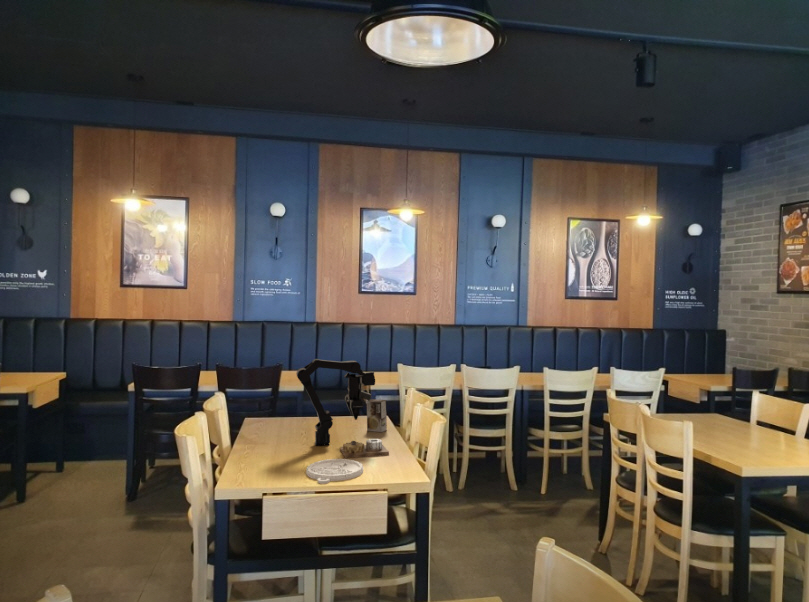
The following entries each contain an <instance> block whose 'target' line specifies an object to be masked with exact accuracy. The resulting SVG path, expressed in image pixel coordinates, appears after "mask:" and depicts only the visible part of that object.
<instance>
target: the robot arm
mask: <svg viewBox="0 0 809 602" xmlns="http://www.w3.org/2000/svg"><path fill="white" fill-rule="evenodd" d="M319 368H321V369H330V370H341V371H344V372H346V373H345V375H343V376H344V379H345V378H346V379H347V380H348V381H347V385H348V386H347V390H348V393H347V394H346V395H345V396H344V401H345V403H346V406H347V408H348V411H349V414H350V416H351V417H353V419H354V420H355V421H356V420H358V418H359V413H360V410H361V409H362V408H363V407H364V405H365V402H364V400H366V401H370V400H371V399H372V398H371V397H372V394H371V393H369V392H368V390H367V389H363V390H362V389H361V385H362V386H363V387H365V386H367V387H368V386H371V387H372V386H375V385H376V377H375V371H367V372H366V371H365V372H364V371H363V370H362V369H361V364H360V362H359V361H358V362H357V361H356V360H346V361H337V360H328V359H327V360H325V359H319V358H314V359H313V360H312V361H311V362H310V363H308V364H306V365H305V366H304V367H301V368H298V369H297V371H296V377H297V379H298V380H299V382H300V383H301V384H302V386H303V388H304V389H305V391H306V392H307V394H308V397H309V398H310V401H311V404H312V405H313V407H314V409H315V411H316V415H317V418H318V422H317V423H316V424H315V425H314V427H315V431H314V438H315V440H314V444H315V446H316V447H320V446H330V444H331V434H330V431H329V430H330V429H331V428H332V427H333V425H334V423H333V421H334V418H333V417H332V416H331V413H330V411H329V410H325V409H324V407H323V405H322V402H321V401H320V399H319V397H318V394H317V392H316V390H315V388H314V386H313V384H312V382H313V381H312V379H311V375H312V374H313V373H315V371H316V370H317V369H319ZM362 399H363V400H362Z"/></svg>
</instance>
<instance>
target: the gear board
mask: <svg viewBox="0 0 809 602" xmlns="http://www.w3.org/2000/svg"><path fill="white" fill-rule="evenodd" d="M372 442H376V441H372ZM340 452H341V453H343V454H342V456H344V459H354V458H366V457H378V456H379V455H381V456H390V451H389V449H387V448H386V447H385V446H384V444H382V449H381V450H375V451H373V450H367V449H366V444H365V443H363V442H358V441H356V440H351V441H350V442H346V443H343V445H342V446H340ZM379 457H380V456H379Z"/></svg>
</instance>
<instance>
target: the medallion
mask: <svg viewBox="0 0 809 602" xmlns="http://www.w3.org/2000/svg"><path fill="white" fill-rule="evenodd" d="M305 472H306V474H305V475H306V476H308V477H309V478H311V479H314V480H317V483H318V484H321V485H323V484H328V483H330V482H337V481H339V482H340V481H346V480H350V479H351V480H352V479H355V478H358V477H359V476H361V475H362V474H364V464H362V462H359V461H358V460H354V459H350V458H331V459H329V458H328V459H327V458H326V459H323V460H319V461H318V460H317V461H314V462H313V463H310V464H309V465H307V467H306V470H305Z"/></svg>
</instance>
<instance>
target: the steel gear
mask: <svg viewBox="0 0 809 602" xmlns="http://www.w3.org/2000/svg"><path fill="white" fill-rule="evenodd" d="M372 441H376V442H372ZM365 445H366V449H367V450H373V451H375V450H381V449H382V445H383V440H382V439H380V438H369V439H367V440H366V441H365Z"/></svg>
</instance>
